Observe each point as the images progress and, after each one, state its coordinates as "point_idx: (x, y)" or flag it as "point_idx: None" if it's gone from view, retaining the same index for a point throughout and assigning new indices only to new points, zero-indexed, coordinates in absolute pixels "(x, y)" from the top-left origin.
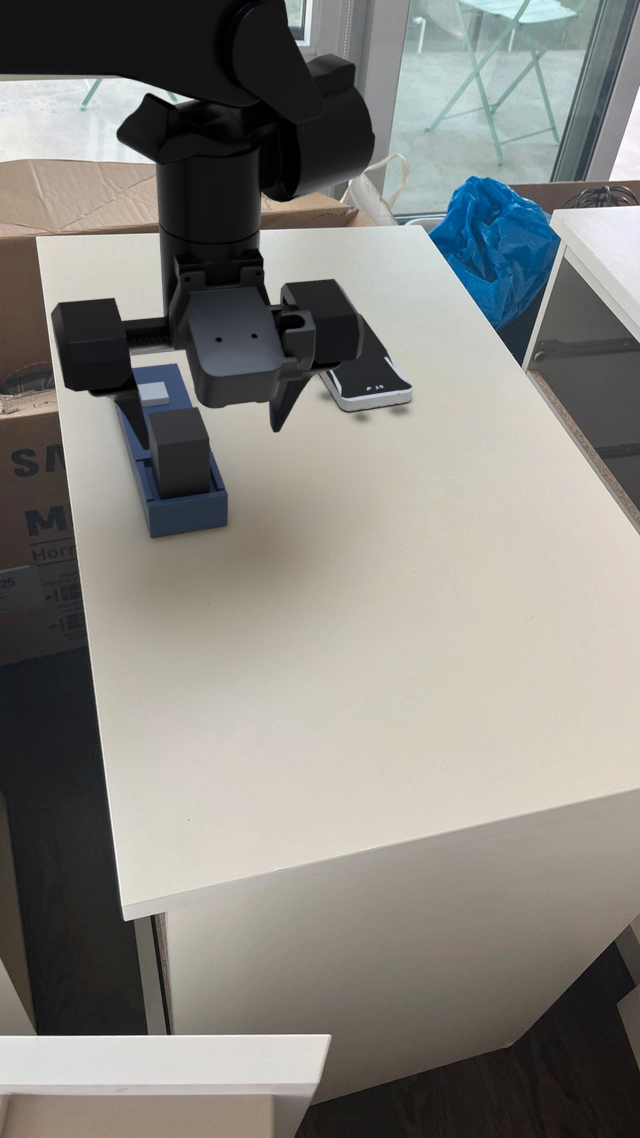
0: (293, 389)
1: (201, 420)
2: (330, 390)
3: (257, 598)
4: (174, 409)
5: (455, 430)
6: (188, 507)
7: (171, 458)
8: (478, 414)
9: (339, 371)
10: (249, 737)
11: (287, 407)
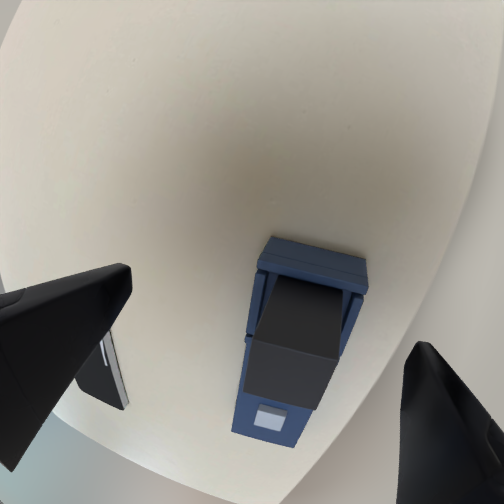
0: (8, 307)
1: (248, 371)
2: (111, 343)
3: (286, 108)
4: (257, 396)
5: (35, 251)
6: (315, 267)
7: (320, 334)
8: (21, 259)
9: (98, 354)
10: None
11: (58, 285)
